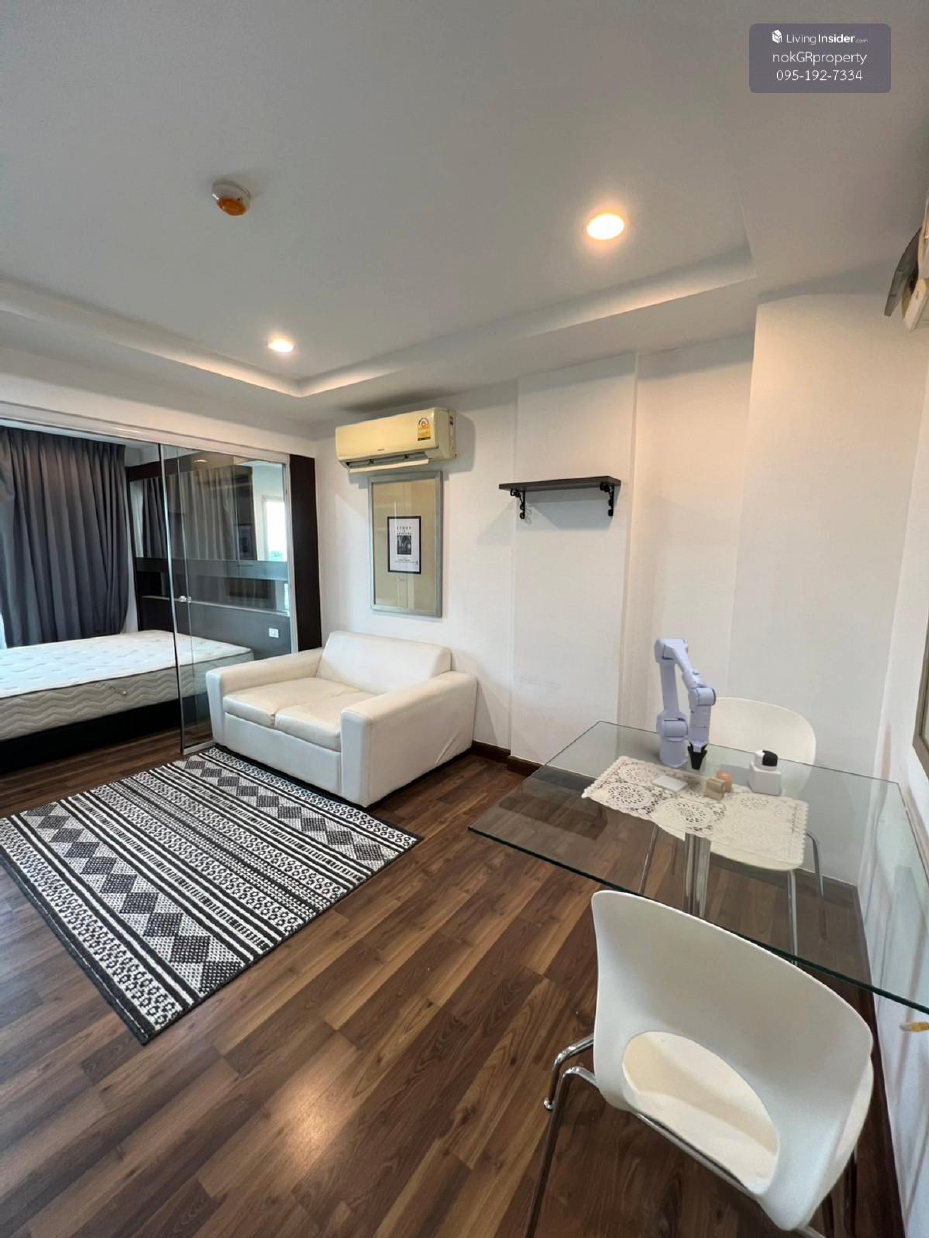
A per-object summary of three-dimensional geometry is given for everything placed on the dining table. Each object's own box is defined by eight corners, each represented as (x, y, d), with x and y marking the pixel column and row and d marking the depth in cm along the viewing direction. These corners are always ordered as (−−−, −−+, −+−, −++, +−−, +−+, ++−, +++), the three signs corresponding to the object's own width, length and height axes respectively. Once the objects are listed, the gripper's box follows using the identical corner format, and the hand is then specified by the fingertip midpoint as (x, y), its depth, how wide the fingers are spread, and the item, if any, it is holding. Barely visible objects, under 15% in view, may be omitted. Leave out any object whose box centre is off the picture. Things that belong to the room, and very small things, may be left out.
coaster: (663, 776, 159) (663, 774, 158) (687, 785, 153) (687, 783, 153) (651, 783, 153) (651, 782, 153) (676, 793, 147) (676, 791, 147)
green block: (691, 766, 156) (693, 749, 156) (704, 770, 153) (706, 752, 153) (686, 770, 154) (688, 752, 153) (699, 774, 151) (701, 756, 150)
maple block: (710, 791, 149) (711, 776, 148) (724, 796, 146) (725, 781, 145) (705, 796, 146) (706, 780, 145) (719, 801, 143) (720, 785, 142)
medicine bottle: (773, 785, 153) (776, 749, 152) (779, 796, 146) (783, 758, 145) (747, 782, 155) (750, 746, 154) (752, 792, 149) (756, 755, 147)
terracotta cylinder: (718, 784, 154) (719, 769, 153) (733, 789, 150) (734, 774, 150) (713, 788, 151) (714, 773, 150) (728, 793, 147) (729, 778, 147)
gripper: (687, 715, 160) (683, 754, 162) (684, 729, 147) (680, 771, 149) (710, 719, 156) (707, 759, 158) (709, 733, 144) (706, 776, 146)
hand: (696, 765), depth 153 cm, fingers closed on green block, 5 cm apart
